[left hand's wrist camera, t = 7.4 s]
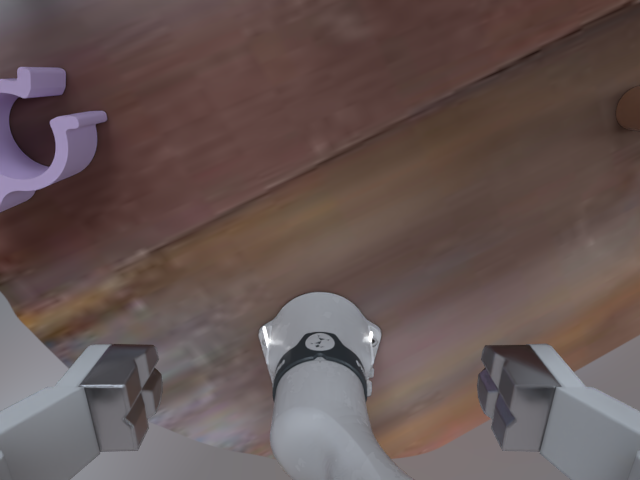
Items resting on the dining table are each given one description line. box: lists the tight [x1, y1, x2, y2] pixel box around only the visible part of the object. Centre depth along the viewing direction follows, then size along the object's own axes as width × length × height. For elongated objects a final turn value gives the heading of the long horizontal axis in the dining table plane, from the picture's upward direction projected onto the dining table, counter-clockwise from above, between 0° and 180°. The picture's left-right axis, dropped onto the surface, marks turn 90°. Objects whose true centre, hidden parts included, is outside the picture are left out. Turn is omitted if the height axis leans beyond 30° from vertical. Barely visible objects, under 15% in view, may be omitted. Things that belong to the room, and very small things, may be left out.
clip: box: [0, 67, 107, 212], centre depth 53 cm, size 20×12×7 cm, turn 129°
